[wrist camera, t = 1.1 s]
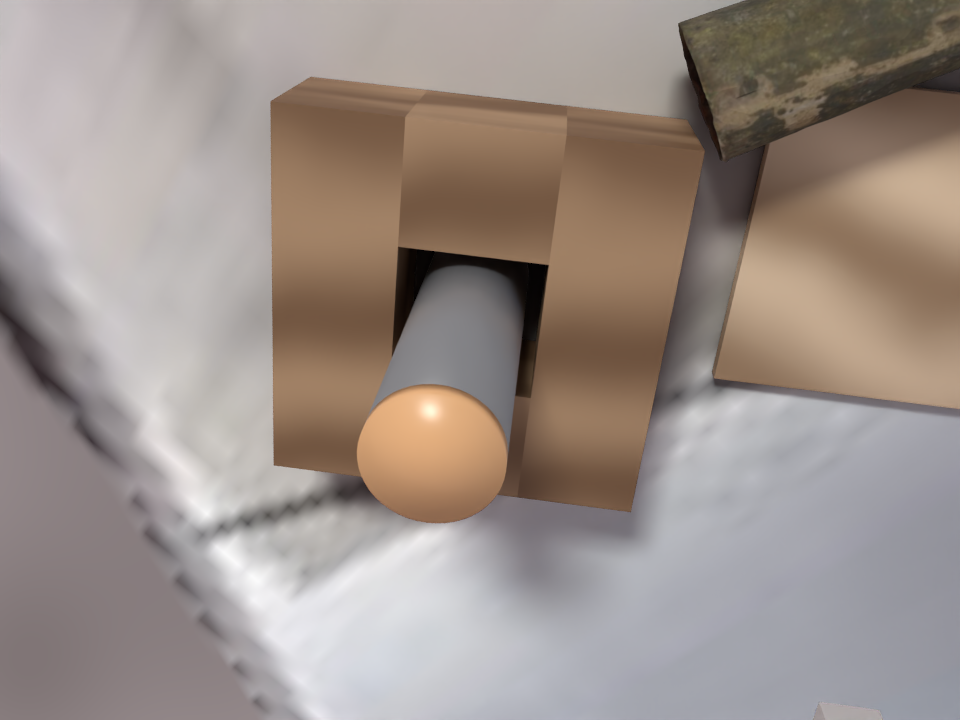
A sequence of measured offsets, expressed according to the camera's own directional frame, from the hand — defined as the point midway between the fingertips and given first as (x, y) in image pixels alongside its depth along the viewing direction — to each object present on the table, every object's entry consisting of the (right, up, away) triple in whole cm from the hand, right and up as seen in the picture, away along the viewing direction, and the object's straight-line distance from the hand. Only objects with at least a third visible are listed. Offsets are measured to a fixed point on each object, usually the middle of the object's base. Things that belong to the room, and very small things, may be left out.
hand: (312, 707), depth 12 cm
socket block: (+2, +8, +24) cm, 26 cm away
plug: (+2, +8, +24) cm, 26 cm away
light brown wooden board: (+18, +9, +22) cm, 30 cm away
